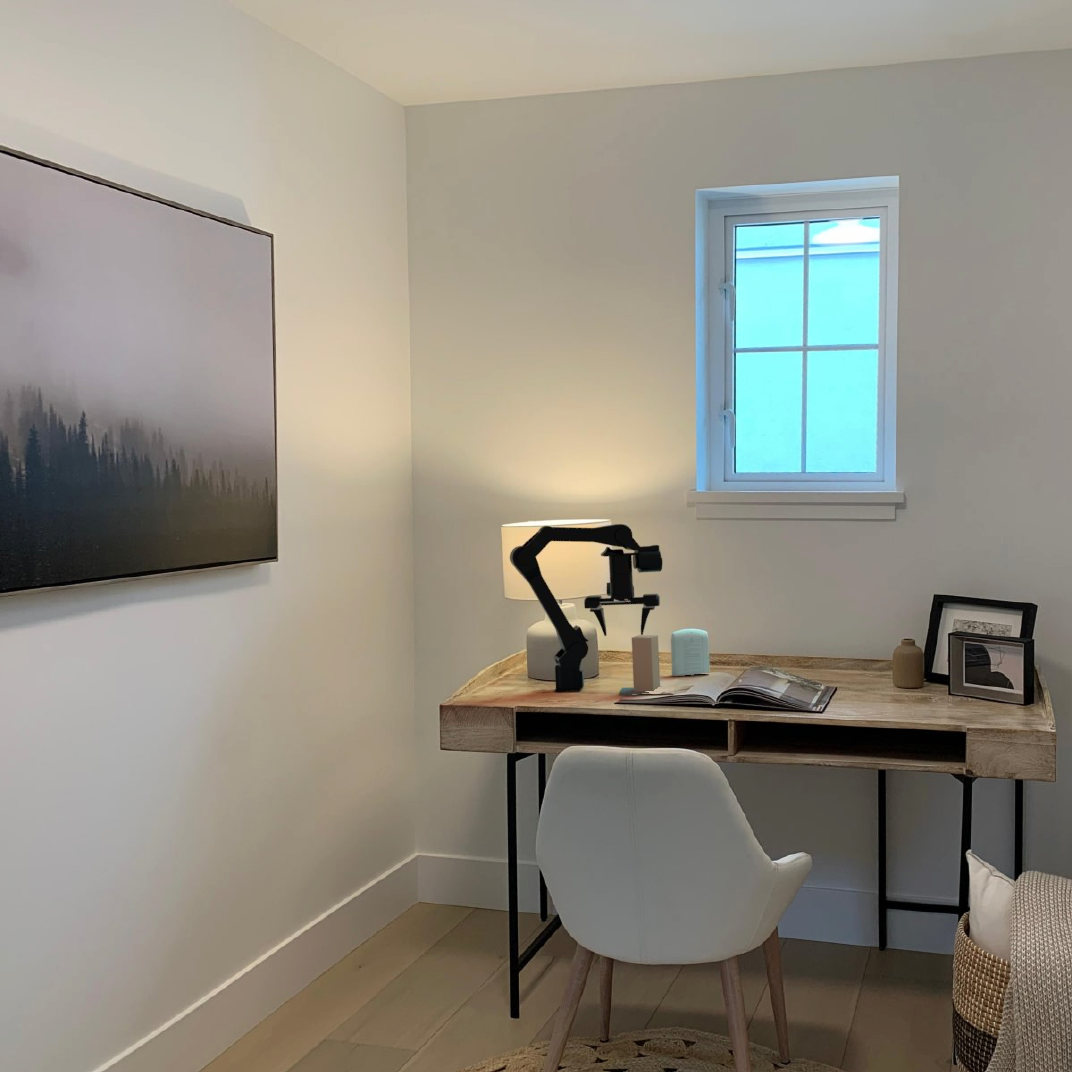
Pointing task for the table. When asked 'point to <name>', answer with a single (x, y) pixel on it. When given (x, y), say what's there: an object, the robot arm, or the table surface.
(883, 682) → the table surface
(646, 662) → the beige rectangular block
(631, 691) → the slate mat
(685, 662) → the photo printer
